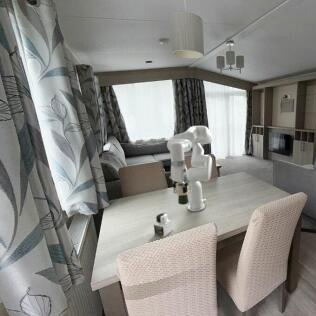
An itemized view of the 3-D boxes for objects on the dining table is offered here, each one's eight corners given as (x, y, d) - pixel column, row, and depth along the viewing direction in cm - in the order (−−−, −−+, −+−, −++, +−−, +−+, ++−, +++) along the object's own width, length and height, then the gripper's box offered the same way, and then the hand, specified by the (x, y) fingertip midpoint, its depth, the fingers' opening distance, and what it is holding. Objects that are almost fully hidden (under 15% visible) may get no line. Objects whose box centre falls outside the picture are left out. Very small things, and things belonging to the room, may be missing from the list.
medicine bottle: (154, 234, 119) (152, 216, 116) (162, 228, 125) (160, 211, 122) (164, 237, 116) (162, 219, 113) (172, 230, 123) (170, 213, 120)
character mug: (190, 198, 128) (188, 180, 124) (194, 203, 122) (192, 183, 119) (173, 203, 122) (171, 183, 119) (176, 208, 116) (174, 187, 113)
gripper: (193, 163, 113) (195, 191, 117) (172, 159, 121) (175, 186, 126) (184, 166, 107) (186, 196, 111) (162, 162, 115) (165, 190, 120)
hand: (180, 190), depth 118 cm, fingers closed on character mug, 7 cm apart
